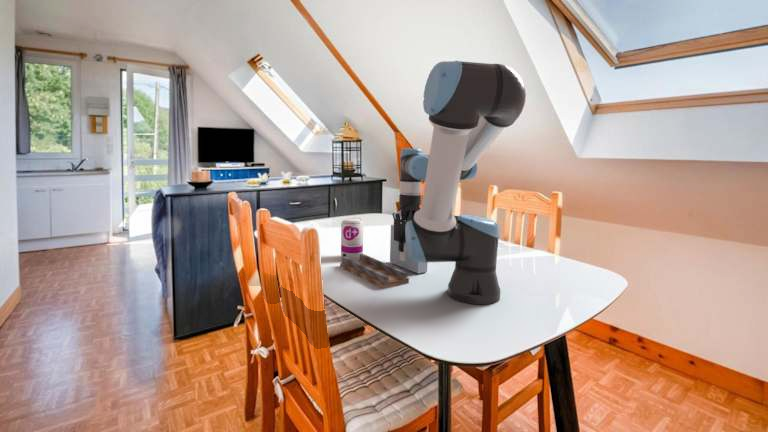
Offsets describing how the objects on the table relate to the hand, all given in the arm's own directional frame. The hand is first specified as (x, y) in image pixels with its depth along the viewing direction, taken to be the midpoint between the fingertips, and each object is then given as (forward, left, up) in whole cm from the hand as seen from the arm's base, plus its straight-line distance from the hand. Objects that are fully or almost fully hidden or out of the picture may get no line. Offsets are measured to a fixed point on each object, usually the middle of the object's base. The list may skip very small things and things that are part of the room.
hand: (408, 259), depth 144 cm
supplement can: (+20, +11, -3) cm, 23 cm away
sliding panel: (0, 0, -3) cm, 3 cm away
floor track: (0, +15, -3) cm, 15 cm away
